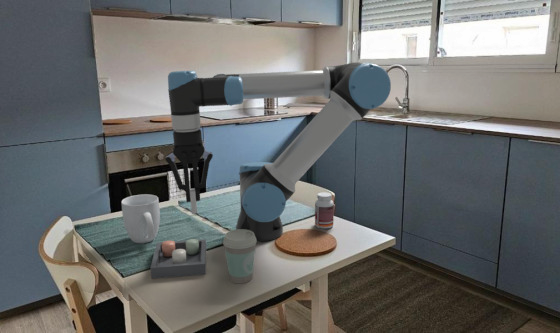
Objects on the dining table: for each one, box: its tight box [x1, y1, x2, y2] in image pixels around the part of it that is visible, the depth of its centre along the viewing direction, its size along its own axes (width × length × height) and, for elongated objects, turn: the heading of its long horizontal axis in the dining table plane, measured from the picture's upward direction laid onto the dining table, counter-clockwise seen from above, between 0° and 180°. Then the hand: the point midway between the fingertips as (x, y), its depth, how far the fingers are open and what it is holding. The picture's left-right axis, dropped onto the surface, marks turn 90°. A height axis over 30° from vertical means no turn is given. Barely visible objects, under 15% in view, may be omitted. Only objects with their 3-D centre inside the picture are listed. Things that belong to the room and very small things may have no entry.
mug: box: [120, 193, 161, 244], centre depth 137 cm, size 15×11×13 cm
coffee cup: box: [222, 228, 258, 284], centre depth 114 cm, size 8×9×12 cm
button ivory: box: [172, 249, 186, 264], centre depth 120 cm, size 4×4×3 cm
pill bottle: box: [314, 191, 335, 230], centre depth 148 cm, size 6×6×11 cm
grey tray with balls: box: [150, 239, 207, 279], centre depth 124 cm, size 14×16×3 cm
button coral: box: [162, 240, 175, 257], centre depth 126 cm, size 4×4×3 cm
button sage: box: [185, 238, 199, 255], centre depth 127 cm, size 4×4×3 cm
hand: (194, 211), depth 126 cm, fingers closed
